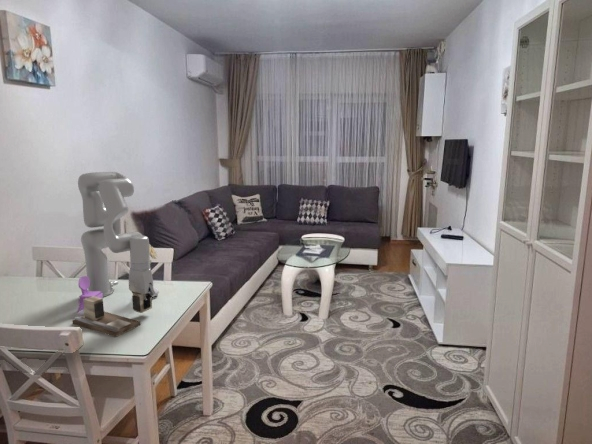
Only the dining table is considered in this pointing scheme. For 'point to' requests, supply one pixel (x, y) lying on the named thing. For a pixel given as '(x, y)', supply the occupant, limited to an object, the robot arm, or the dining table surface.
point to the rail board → (103, 319)
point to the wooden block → (139, 302)
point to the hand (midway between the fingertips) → (142, 306)
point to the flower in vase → (152, 254)
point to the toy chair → (86, 291)
